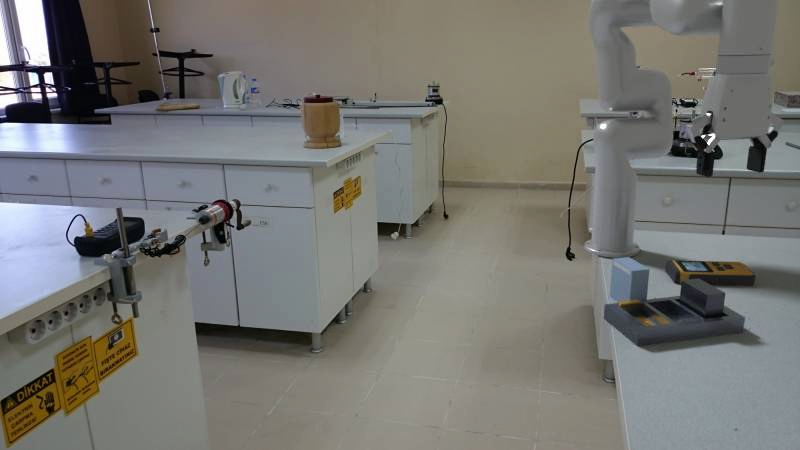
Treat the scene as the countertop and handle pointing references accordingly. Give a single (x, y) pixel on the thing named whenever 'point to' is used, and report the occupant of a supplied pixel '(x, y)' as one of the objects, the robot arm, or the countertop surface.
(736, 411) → the countertop surface
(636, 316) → the rack
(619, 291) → the light blue block
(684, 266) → the electronic device
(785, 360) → the countertop surface
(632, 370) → the countertop surface
